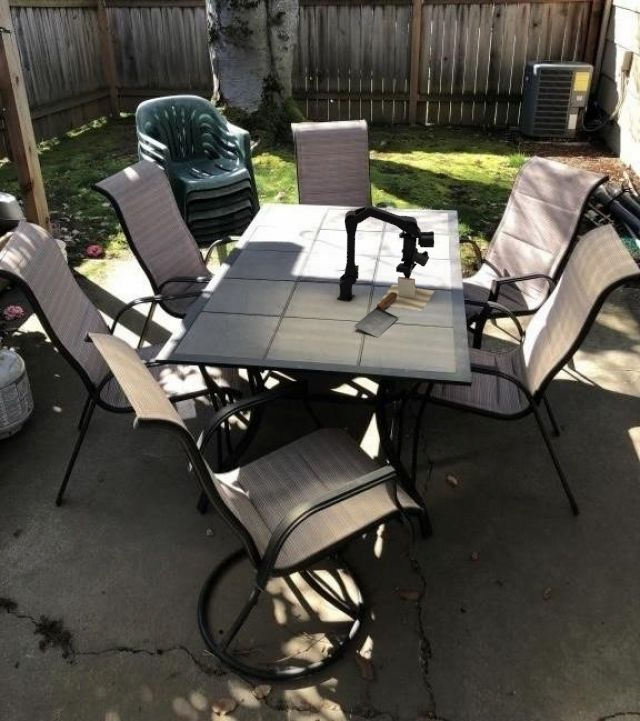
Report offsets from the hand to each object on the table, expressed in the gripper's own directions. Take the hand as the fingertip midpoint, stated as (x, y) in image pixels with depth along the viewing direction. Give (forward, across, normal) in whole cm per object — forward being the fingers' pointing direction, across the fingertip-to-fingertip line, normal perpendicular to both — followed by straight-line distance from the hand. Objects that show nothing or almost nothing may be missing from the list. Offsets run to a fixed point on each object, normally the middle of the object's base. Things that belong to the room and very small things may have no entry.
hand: (407, 280), depth 291 cm
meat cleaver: (+8, -22, +4) cm, 23 cm away
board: (+9, -1, 0) cm, 9 cm away
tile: (+8, 0, 0) cm, 8 cm away
